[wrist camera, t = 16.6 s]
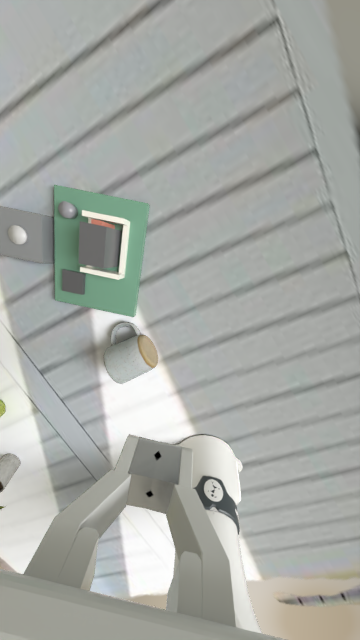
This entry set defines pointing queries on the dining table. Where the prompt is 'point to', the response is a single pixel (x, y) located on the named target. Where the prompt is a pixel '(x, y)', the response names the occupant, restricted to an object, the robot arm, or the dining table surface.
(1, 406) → the plant pot
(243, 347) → the dining table surface
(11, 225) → the gray push button box
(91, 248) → the plug
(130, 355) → the ceramic mug
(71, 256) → the board
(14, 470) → the house plant
